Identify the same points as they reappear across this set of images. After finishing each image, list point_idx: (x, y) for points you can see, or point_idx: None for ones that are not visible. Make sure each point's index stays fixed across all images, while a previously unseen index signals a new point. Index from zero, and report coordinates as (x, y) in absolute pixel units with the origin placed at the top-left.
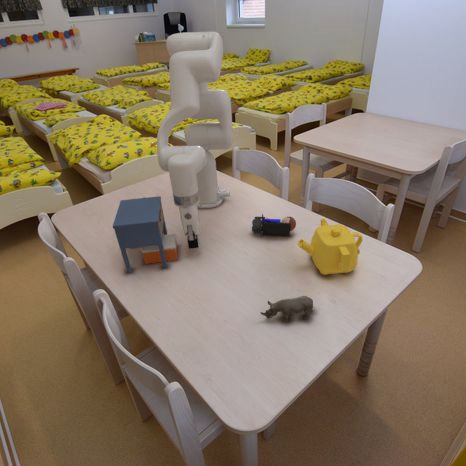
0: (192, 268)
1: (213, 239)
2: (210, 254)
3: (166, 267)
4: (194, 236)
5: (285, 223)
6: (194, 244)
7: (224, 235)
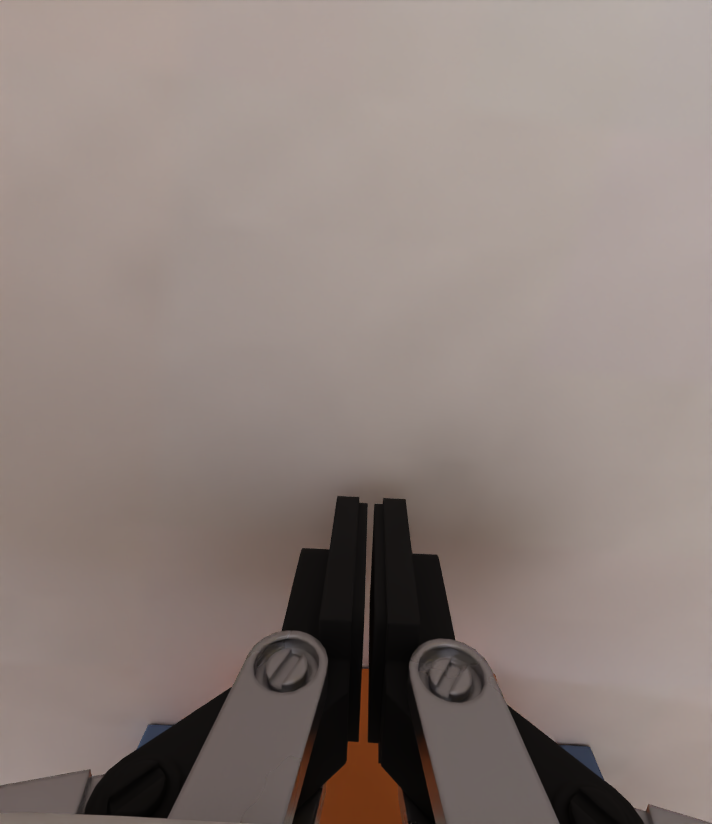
0: (700, 552)
1: (156, 256)
2: (509, 333)
3: (593, 757)
4: (616, 814)
5: None
6: (442, 594)
7: (49, 48)
